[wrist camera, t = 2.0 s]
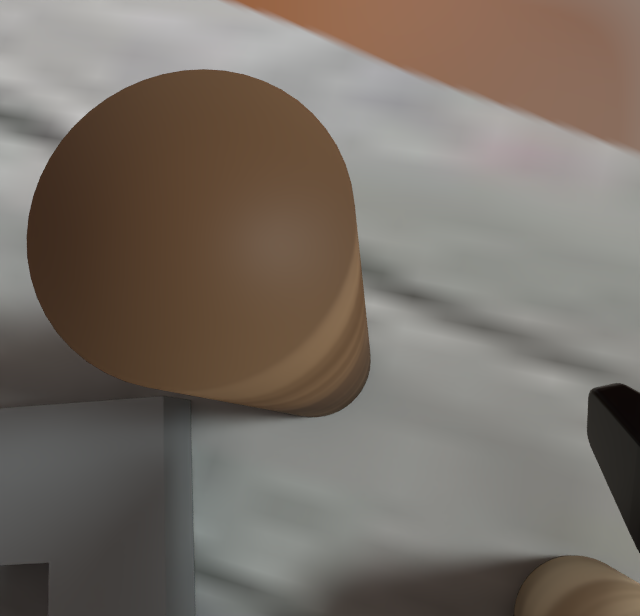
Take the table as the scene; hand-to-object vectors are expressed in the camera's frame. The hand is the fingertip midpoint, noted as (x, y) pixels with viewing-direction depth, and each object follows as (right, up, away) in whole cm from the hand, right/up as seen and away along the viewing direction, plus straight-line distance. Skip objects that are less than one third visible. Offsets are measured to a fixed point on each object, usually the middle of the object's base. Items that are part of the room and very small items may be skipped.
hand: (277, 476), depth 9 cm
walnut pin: (0, +1, +11) cm, 11 cm away
